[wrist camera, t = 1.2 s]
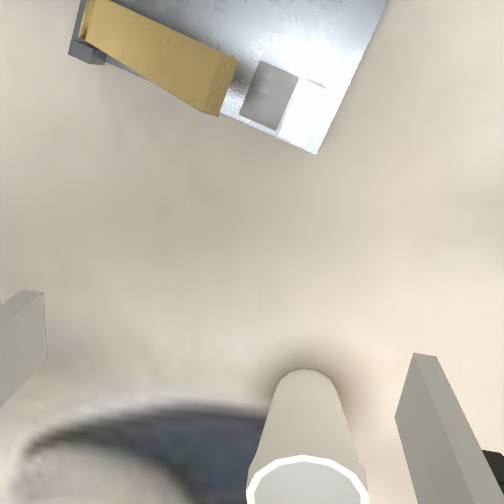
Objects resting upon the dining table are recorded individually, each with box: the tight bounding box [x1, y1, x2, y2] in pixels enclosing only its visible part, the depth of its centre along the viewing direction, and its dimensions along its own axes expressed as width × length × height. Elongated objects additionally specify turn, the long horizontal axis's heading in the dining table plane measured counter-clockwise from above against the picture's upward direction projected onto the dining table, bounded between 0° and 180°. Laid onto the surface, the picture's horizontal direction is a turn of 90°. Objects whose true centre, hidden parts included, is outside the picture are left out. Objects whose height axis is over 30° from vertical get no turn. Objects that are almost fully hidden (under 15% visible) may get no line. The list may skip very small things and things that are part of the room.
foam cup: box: [246, 369, 369, 504], centre depth 41 cm, size 10×9×13 cm
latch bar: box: [78, 0, 239, 117], centre depth 27 cm, size 15×3×2 cm
